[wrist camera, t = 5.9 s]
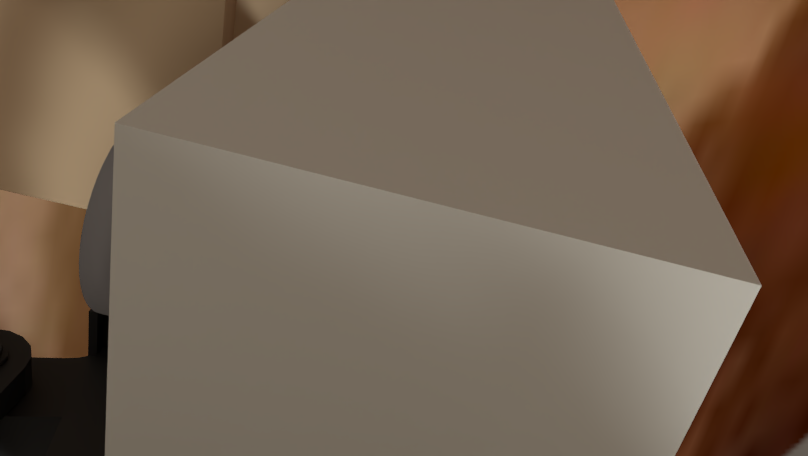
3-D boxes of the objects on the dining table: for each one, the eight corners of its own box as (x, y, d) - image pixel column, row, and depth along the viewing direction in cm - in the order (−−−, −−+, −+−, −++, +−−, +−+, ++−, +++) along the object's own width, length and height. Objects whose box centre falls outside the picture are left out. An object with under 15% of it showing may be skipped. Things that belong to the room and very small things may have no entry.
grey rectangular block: (280, 427, 21) (71, 931, 11) (366, -69, 15) (72, 111, 5) (451, 472, 21) (386, 1021, 11) (609, -10, 15) (763, 285, 5)
